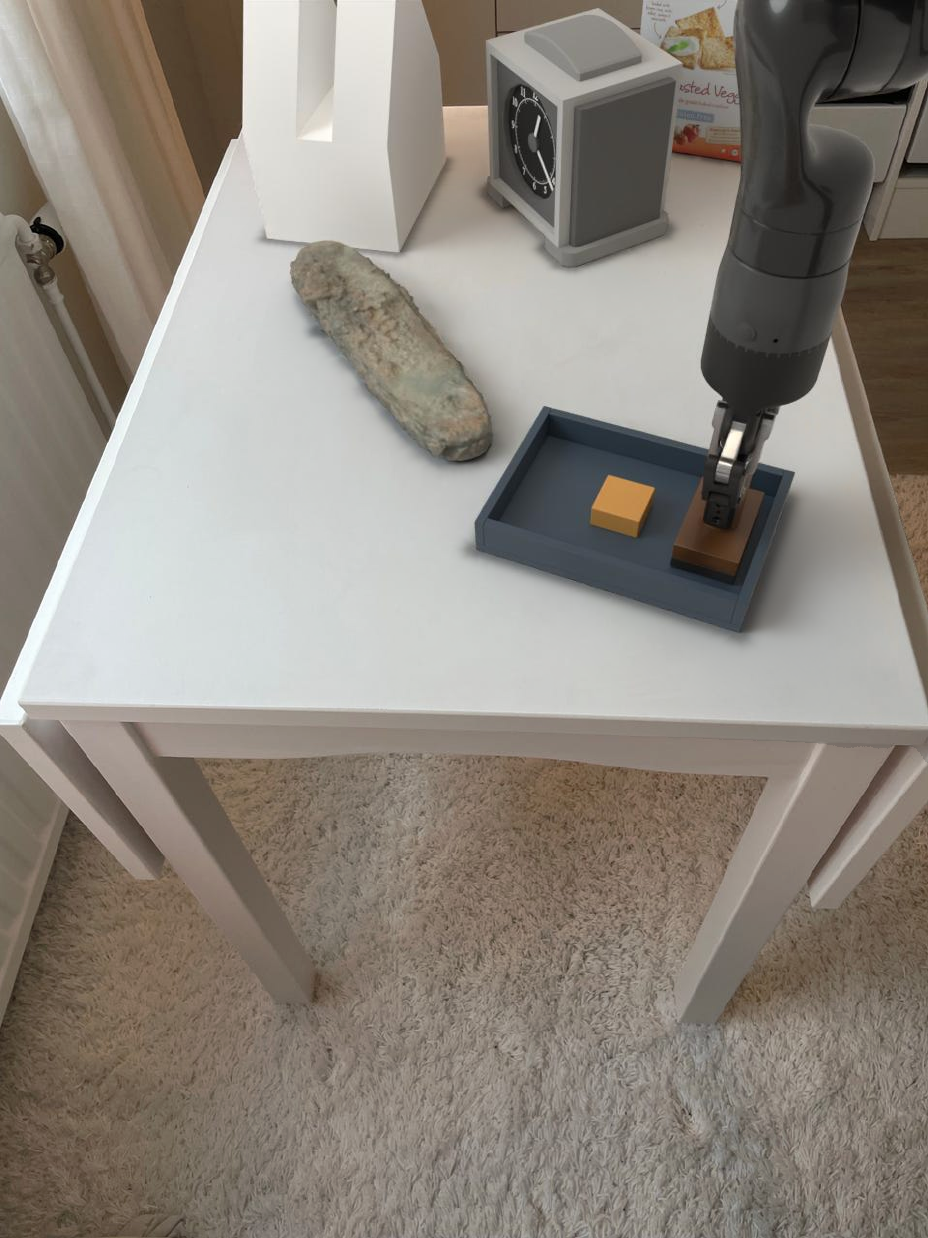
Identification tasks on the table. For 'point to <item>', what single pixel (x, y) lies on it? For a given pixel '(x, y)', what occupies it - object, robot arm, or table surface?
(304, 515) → the table surface
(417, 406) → the elongated rock
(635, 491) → the orange squat block
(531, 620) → the table surface
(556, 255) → the alarm clock
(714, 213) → the table surface
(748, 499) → the rubber stamp
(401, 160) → the white slotted tapered block
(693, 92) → the cracker box
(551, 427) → the tray
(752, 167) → the robot arm
